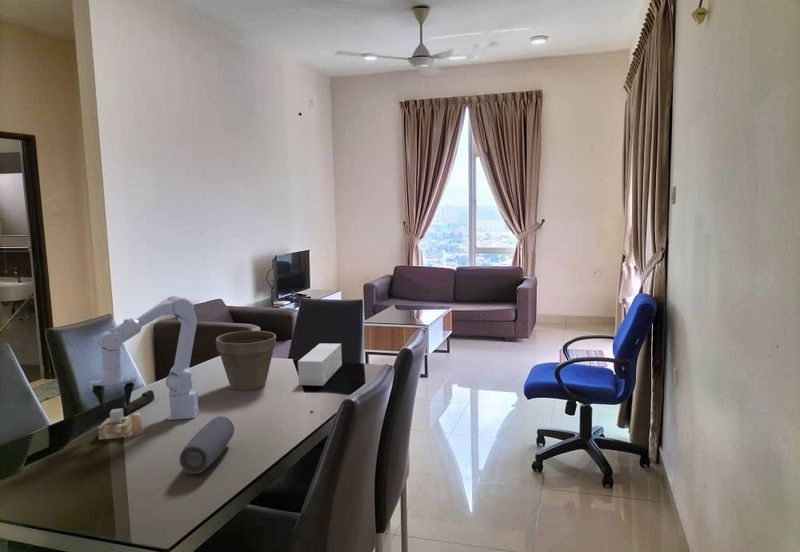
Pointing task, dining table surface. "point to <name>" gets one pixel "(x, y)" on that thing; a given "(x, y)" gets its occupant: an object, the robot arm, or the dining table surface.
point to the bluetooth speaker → (206, 445)
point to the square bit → (116, 416)
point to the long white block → (319, 364)
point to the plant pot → (246, 357)
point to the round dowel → (136, 424)
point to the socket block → (115, 429)
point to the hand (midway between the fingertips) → (115, 406)
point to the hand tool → (138, 402)
